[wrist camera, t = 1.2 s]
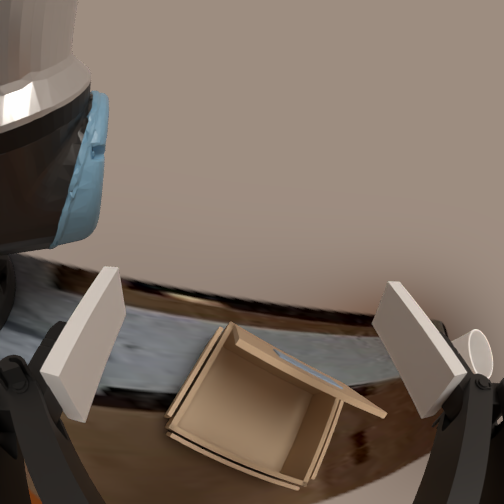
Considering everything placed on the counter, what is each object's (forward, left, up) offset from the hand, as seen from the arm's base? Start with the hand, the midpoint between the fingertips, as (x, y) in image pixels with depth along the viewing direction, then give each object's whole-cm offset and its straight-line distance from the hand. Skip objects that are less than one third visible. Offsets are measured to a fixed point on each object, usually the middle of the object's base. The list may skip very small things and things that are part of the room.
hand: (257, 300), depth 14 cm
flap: (+7, +5, -14) cm, 17 cm away
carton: (+7, -1, -20) cm, 22 cm away
